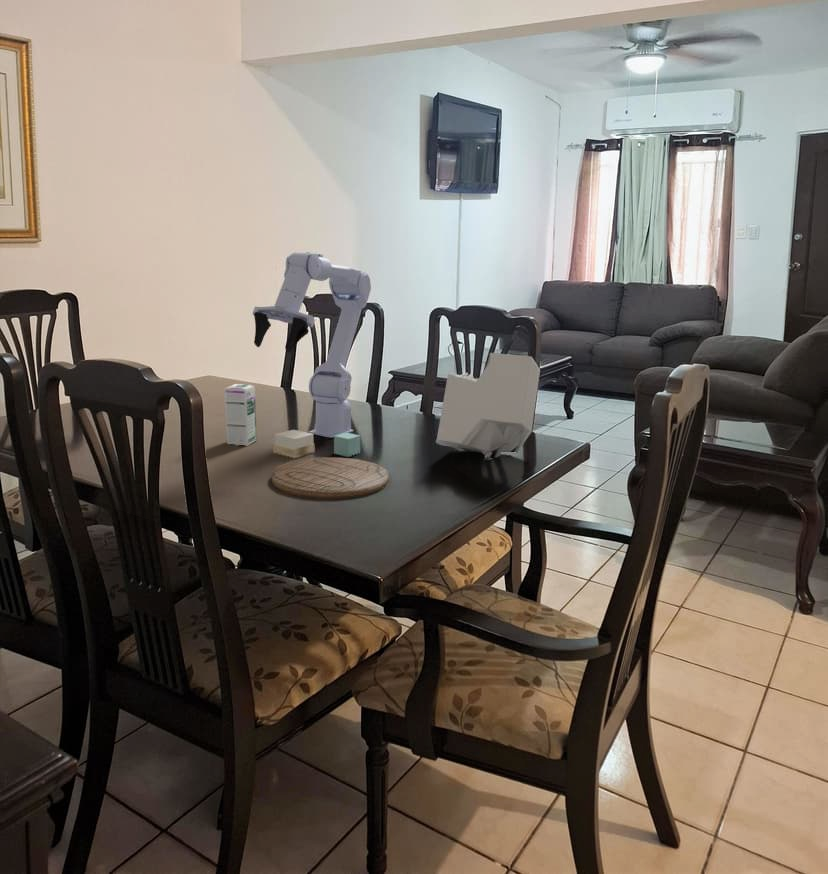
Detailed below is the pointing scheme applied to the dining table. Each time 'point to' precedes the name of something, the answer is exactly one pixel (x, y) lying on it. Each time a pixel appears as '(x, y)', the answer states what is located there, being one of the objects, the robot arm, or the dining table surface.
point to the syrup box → (240, 414)
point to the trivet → (330, 478)
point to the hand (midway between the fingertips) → (272, 347)
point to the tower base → (294, 450)
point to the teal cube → (346, 444)
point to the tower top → (293, 439)
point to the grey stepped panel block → (490, 406)
